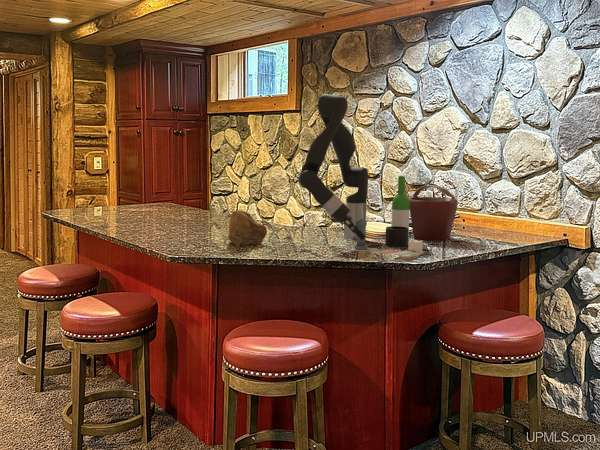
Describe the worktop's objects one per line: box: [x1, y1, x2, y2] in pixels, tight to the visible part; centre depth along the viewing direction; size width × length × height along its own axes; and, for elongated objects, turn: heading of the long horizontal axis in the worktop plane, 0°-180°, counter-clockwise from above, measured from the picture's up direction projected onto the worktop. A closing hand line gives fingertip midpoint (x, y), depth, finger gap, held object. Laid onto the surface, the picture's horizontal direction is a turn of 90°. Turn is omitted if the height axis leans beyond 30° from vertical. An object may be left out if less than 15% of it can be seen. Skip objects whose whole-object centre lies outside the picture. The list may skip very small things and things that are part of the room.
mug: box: [384, 225, 409, 248], centre depth 278 cm, size 9×12×9 cm
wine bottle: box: [390, 175, 410, 242], centre depth 289 cm, size 8×8×30 cm
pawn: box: [353, 218, 368, 251], centre depth 267 cm, size 5×5×13 cm
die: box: [407, 239, 424, 256], centre depth 267 cm, size 5×5×5 cm
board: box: [349, 247, 420, 262], centre depth 262 cm, size 27×11×2 cm, turn 57°
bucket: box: [408, 184, 458, 242], centre depth 306 cm, size 24×22×25 cm
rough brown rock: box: [227, 209, 268, 247], centre depth 285 cm, size 23×17×15 cm
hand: (363, 236), depth 267 cm, fingers open, 8 cm apart
